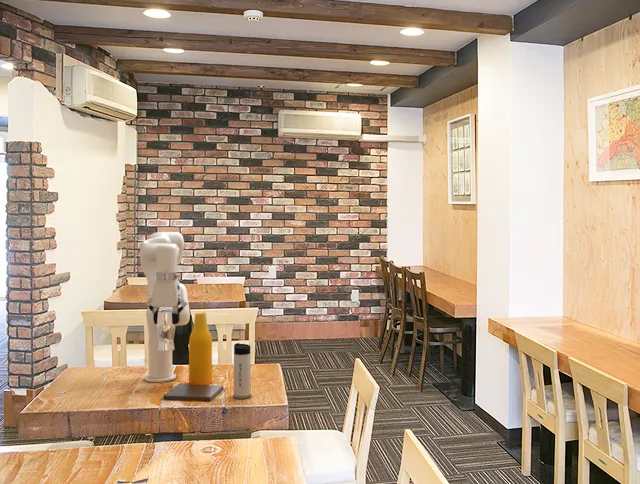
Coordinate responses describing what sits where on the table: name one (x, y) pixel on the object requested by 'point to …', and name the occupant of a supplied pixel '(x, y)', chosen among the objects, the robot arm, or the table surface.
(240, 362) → the travel mug
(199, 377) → the beer bottle
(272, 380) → the table surface
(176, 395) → the serving board
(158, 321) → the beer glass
